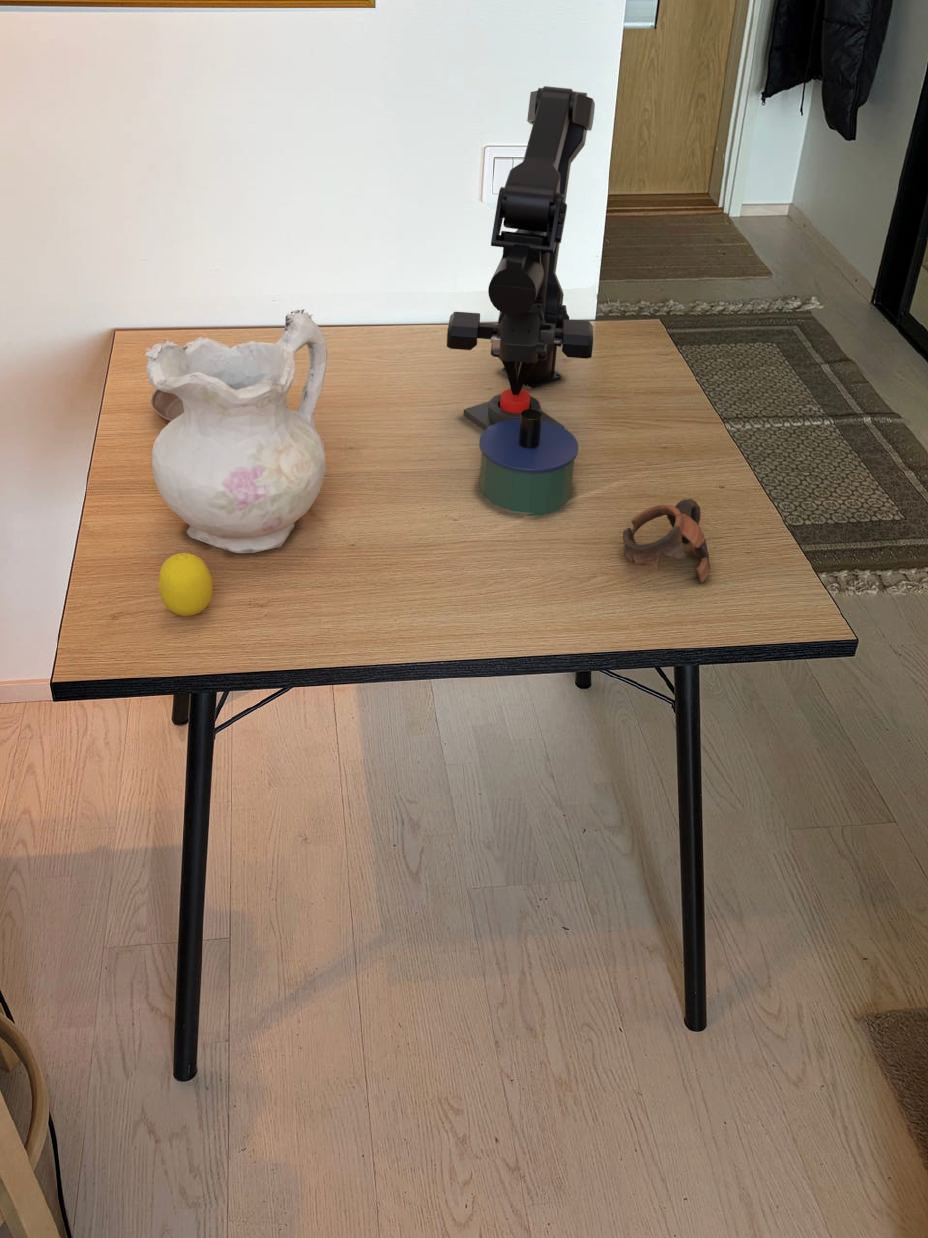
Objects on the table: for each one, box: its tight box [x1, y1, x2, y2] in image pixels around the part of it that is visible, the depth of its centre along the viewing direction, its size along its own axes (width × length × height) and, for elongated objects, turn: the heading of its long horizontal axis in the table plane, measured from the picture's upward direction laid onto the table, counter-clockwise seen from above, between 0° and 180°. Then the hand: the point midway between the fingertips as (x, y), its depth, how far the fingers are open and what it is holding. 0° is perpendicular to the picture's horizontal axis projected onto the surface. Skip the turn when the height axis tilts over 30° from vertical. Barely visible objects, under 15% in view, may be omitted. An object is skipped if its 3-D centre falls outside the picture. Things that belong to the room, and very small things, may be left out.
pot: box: [479, 453, 576, 517], centre depth 145 cm, size 11×11×6 cm
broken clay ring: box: [622, 498, 711, 583], centre depth 136 cm, size 12×10×8 cm
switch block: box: [462, 393, 566, 431], centre depth 159 cm, size 9×11×4 cm
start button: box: [500, 388, 531, 413], centre depth 157 cm, size 4×4×2 cm
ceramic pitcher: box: [143, 309, 328, 554], centre depth 132 cm, size 22×20×25 cm
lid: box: [478, 409, 579, 473], centre depth 142 cm, size 12×12×5 cm
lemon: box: [158, 552, 214, 617], centre depth 123 cm, size 6×6×8 cm
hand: (515, 393), depth 157 cm, fingers closed
